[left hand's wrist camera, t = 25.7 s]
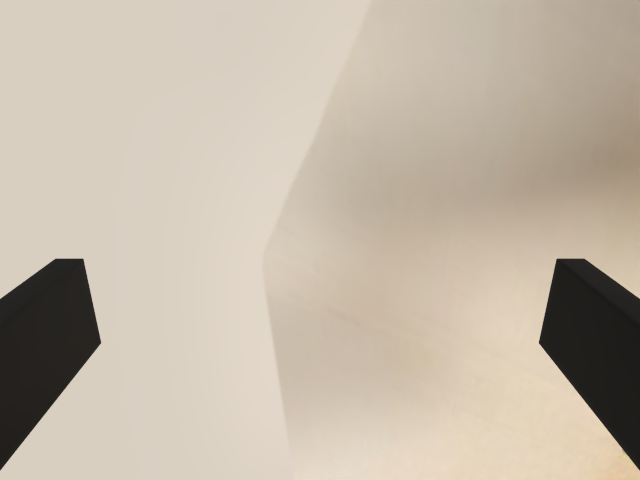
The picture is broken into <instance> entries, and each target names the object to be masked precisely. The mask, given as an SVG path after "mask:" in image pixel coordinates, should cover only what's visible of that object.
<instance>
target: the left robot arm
mask: <svg viewBox="0 0 640 480" xmlns="http://www.w3.org/2000/svg"><path fill="white" fill-rule="evenodd" d="M100 344H101V340H100V335H99V331H98V326H97V321H96V316H95V312H94V307H93V302H92V298H91V293H90V288H89V284H88V279H87V274H86V269H85V265H84V260H83V259H55V260H53V261H52V262H50V263H49V264H48V265H46V266H45V267H44V268H42V269H41V270H39V271H38V272H37V273H35V274H34V275H33V276H31V277H30V278H28V279H27V280H26V281H24V282H23V283H22V284H20V285H19V286H17V287H16V288H15V289H13V290H12V291H11V292H9V293H8V294H7V295H5V296H4V297H2V298H1V299H0V470H1V469H2V468H3V466H4V465H5V464H6V463H7V461H8V460H9V459H10V457H11V456H12V455H13V454H14V452H15V451H16V450H17V449H18V447H19V446H20V445H21V444H22V442H23V441H24V440H25V438H26V437H27V436H28V435H29V433H30V432H31V431H32V430H33V428H34V427H35V426H36V425H37V423H38V422H39V421H40V420H41V418H42V417H43V416H44V414H45V413H46V412H47V411H48V409H49V408H50V407H51V406H52V404H53V403H54V402H55V401H56V399H57V398H58V397H59V396H60V394H61V393H62V392H63V390H64V389H65V388H66V387H67V385H68V384H69V383H70V382H71V380H72V379H73V378H74V377H75V375H76V374H77V373H78V372H79V370H80V369H81V368H82V366H83V365H84V364H85V363H86V361H87V360H88V359H89V358H90V356H91V355H92V354H93V353H94V351H95V350H96V349H97V348H98V346H99V345H100ZM539 344H540V345H541V346H542V348H543V349H544V350H545V351H546V353H547V354H548V355H549V356H550V358H551V359H552V360H553V361H554V363H555V364H556V365H557V366H558V368H559V369H560V370H561V372H562V373H563V374H564V375H565V377H566V378H567V379H568V380H569V382H570V383H571V384H572V385H573V387H574V388H575V389H576V391H577V392H578V393H579V394H580V396H581V397H582V398H583V399H584V401H585V402H586V403H587V404H588V406H589V407H590V408H591V409H592V411H593V412H594V413H595V415H596V416H597V417H598V418H599V420H600V421H601V422H602V423H603V425H604V426H605V427H606V428H607V430H608V431H609V432H610V433H611V435H612V436H613V437H614V439H615V440H616V441H617V442H618V444H619V445H620V446H621V447H622V449H623V450H624V451H625V452H626V454H627V455H628V456H629V457H630V459H631V460H632V461H633V463H634V464H635V465H636V466H637V468H638V469H639V470H640V299H639V298H638V297H636V296H635V295H634V294H632V293H631V292H629V291H628V290H627V289H625V288H624V287H623V286H621V285H620V284H618V283H617V282H616V281H614V280H613V279H612V278H610V277H609V276H607V275H606V274H605V273H603V272H602V271H601V270H599V269H598V268H596V267H595V266H594V265H592V264H591V263H590V262H588V261H587V260H585V259H557V260H556V265H555V269H554V274H553V279H552V284H551V288H550V293H549V298H548V302H547V307H546V312H545V316H544V321H543V326H542V331H541V335H540V340H539Z"/></svg>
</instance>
